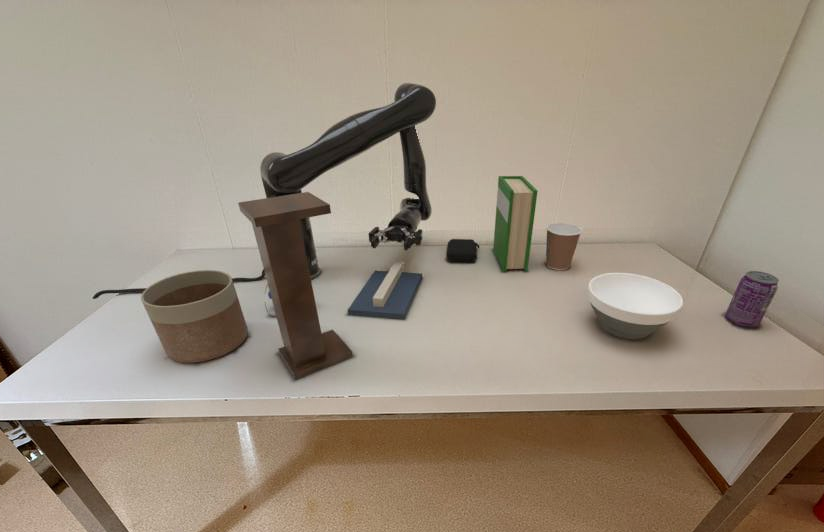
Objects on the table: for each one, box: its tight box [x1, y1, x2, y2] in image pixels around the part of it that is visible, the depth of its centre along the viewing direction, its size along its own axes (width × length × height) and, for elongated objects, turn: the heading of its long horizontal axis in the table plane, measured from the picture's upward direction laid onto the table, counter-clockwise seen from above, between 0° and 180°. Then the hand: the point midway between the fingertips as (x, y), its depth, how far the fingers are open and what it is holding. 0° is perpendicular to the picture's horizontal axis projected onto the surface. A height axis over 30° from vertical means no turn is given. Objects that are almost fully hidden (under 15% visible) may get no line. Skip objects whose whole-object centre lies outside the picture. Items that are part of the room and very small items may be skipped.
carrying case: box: [445, 238, 480, 263], centre depth 127 cm, size 11×3×15 cm
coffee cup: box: [545, 222, 583, 271], centre depth 118 cm, size 10×10×12 cm
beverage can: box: [724, 270, 780, 328], centre depth 91 cm, size 7×7×12 cm
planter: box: [140, 269, 249, 363], centre depth 82 cm, size 16×16×14 cm
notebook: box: [347, 269, 423, 320], centre depth 104 cm, size 14×22×2 cm, turn 172°
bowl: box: [587, 272, 684, 340], centre depth 89 cm, size 20×20×10 cm
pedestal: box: [237, 191, 354, 381], centre depth 73 cm, size 12×10×32 cm
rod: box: [373, 260, 405, 307], centre depth 104 cm, size 22×2×2 cm, turn 172°
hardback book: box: [492, 175, 539, 273], centre depth 118 cm, size 18×7×24 cm, turn 4°
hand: (389, 245), depth 101 cm, fingers open, 8 cm apart
